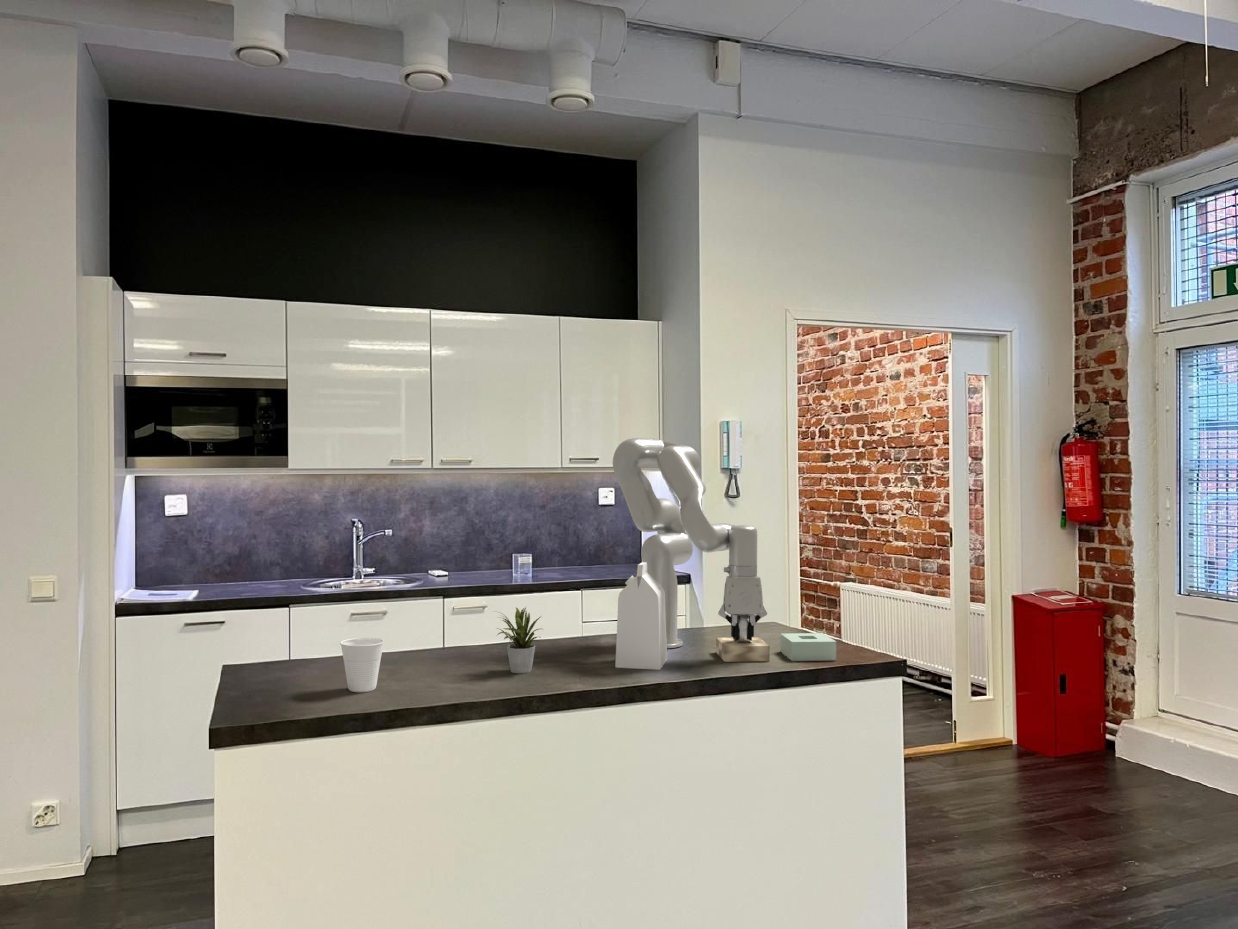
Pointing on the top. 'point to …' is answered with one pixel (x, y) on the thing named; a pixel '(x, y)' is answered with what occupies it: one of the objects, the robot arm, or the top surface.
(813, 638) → the socket
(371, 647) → the cup
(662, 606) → the milk
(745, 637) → the pin
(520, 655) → the house plant
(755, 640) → the mount
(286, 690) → the top surface
